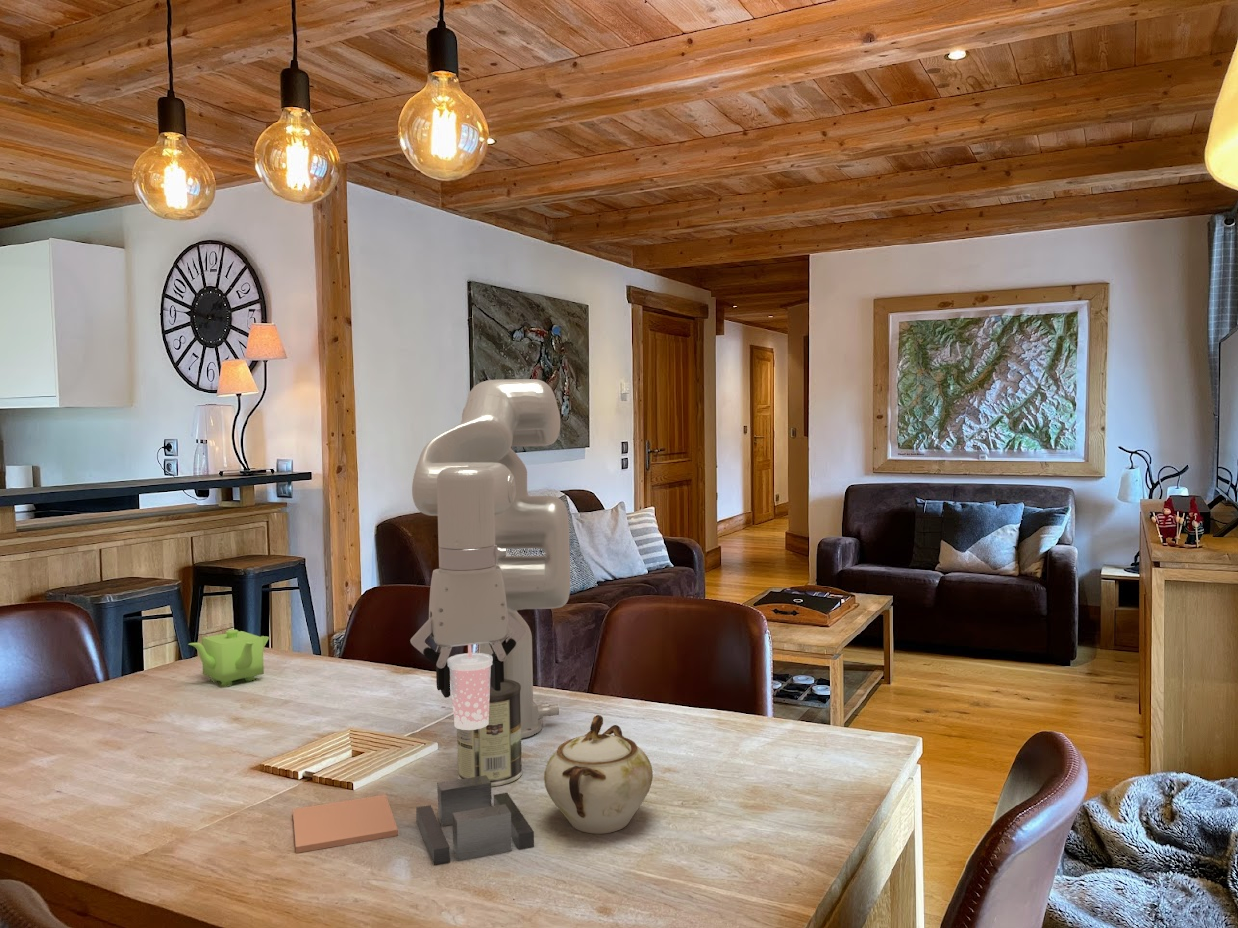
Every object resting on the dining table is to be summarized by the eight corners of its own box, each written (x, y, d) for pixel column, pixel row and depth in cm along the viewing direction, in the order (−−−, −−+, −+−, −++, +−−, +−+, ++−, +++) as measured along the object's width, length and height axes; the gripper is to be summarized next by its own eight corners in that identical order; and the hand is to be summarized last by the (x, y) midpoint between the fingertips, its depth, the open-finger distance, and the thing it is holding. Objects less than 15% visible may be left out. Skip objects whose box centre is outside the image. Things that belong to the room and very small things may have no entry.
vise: (507, 805, 132) (506, 771, 132) (534, 846, 119) (533, 808, 119) (416, 821, 127) (415, 786, 127) (434, 865, 114) (433, 825, 114)
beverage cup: (490, 731, 120) (488, 626, 119) (444, 732, 120) (441, 627, 119) (497, 716, 126) (495, 616, 125) (453, 716, 126) (450, 616, 125)
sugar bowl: (629, 860, 115) (627, 742, 114) (520, 845, 119) (518, 732, 119) (669, 799, 133) (667, 698, 133) (573, 788, 138) (571, 690, 137)
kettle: (254, 688, 196) (252, 636, 195) (187, 691, 195) (185, 639, 194) (276, 670, 211) (275, 622, 210) (213, 672, 210) (212, 624, 209)
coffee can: (496, 758, 151) (494, 674, 151) (535, 774, 144) (534, 686, 144) (443, 775, 144) (441, 687, 144) (482, 793, 137) (480, 700, 136)
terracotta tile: (385, 799, 135) (385, 794, 135) (398, 835, 123) (397, 829, 123) (292, 814, 130) (292, 808, 130) (295, 852, 118) (295, 846, 118)
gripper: (522, 550, 128) (525, 676, 129) (397, 559, 122) (401, 691, 123) (537, 558, 121) (540, 691, 122) (405, 568, 115) (409, 708, 116)
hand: (470, 690), depth 123 cm, fingers closed on beverage cup, 6 cm apart
